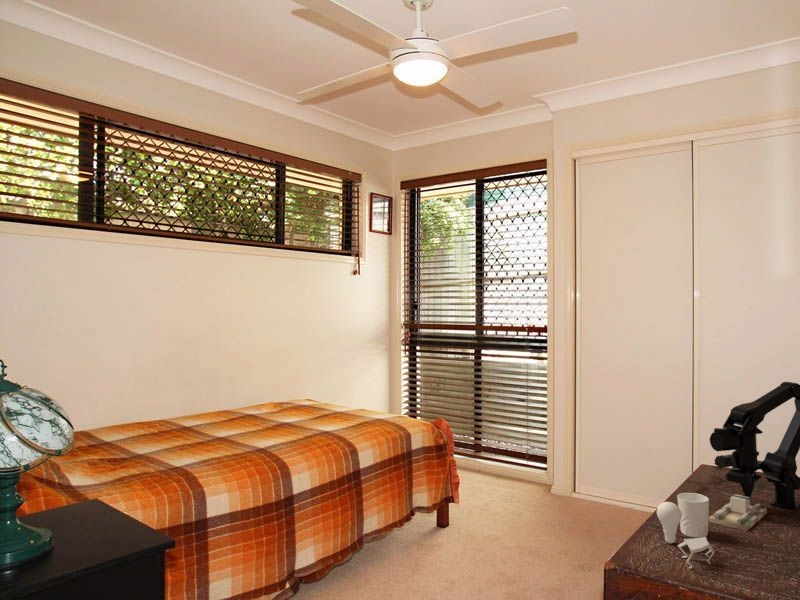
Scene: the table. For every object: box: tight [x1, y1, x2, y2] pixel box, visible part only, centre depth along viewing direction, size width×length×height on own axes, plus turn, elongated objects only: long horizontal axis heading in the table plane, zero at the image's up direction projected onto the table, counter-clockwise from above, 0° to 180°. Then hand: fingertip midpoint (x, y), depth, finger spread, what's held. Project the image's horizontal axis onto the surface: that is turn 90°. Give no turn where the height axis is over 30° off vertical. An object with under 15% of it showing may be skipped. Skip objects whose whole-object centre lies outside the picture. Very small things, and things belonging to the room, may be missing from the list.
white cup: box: [676, 492, 710, 538], centre depth 159 cm, size 8×8×10 cm
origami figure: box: [677, 536, 715, 570], centre depth 141 cm, size 12×8×5 cm
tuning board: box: [708, 501, 768, 532], centre depth 169 cm, size 18×10×2 cm, turn 132°
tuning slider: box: [722, 492, 758, 514], centre depth 170 cm, size 4×9×4 cm, turn 42°
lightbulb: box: [656, 501, 682, 544], centre depth 153 cm, size 6×6×11 cm
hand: (748, 499), depth 175 cm, fingers closed
